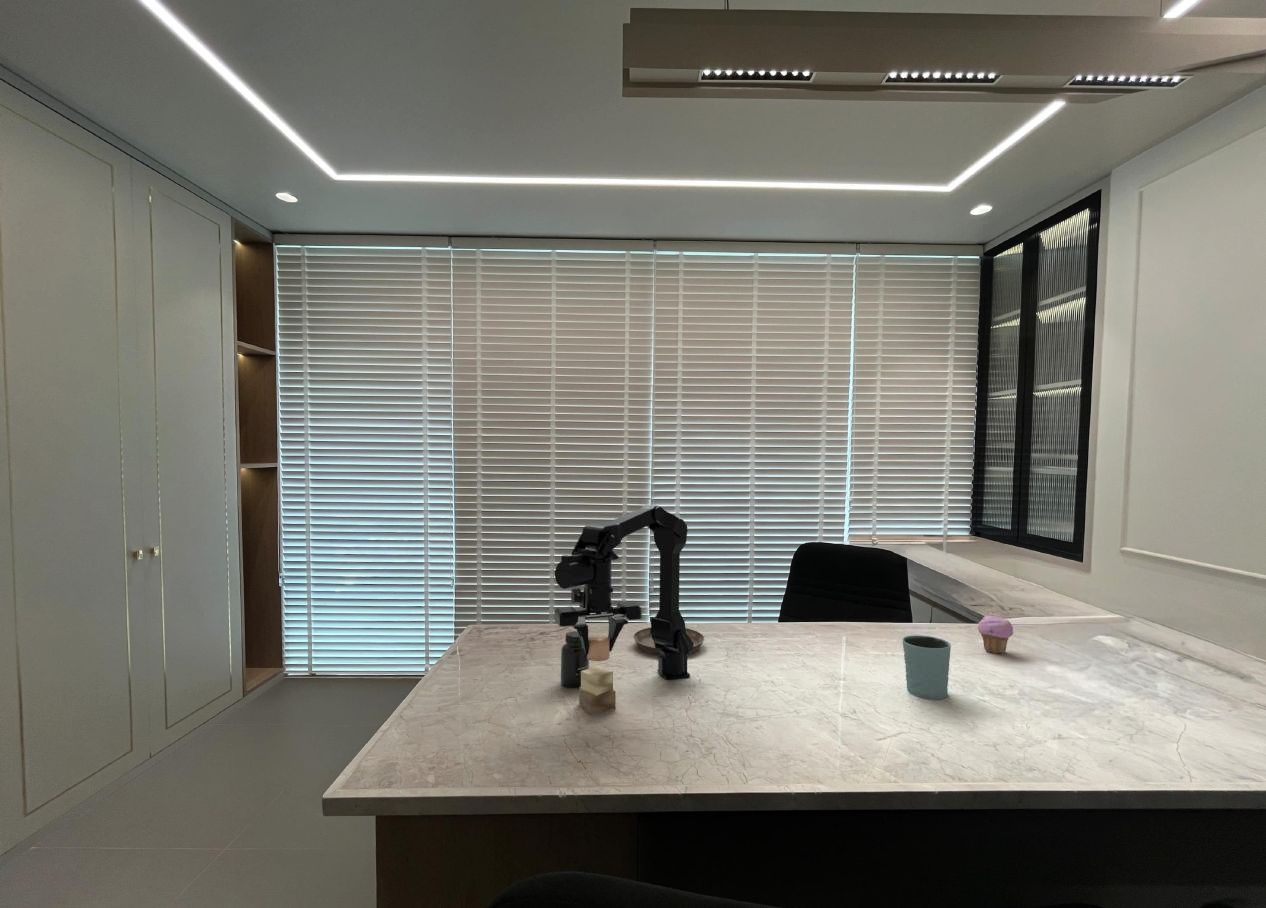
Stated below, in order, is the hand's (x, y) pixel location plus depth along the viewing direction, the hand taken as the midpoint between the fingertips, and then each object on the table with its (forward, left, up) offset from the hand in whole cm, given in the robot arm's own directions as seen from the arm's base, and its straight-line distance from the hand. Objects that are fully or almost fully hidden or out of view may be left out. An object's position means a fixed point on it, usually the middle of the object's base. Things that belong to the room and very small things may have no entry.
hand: (598, 652), depth 130 cm
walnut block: (0, 0, -12) cm, 12 cm away
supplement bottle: (+1, -15, -12) cm, 19 cm away
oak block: (0, 0, -8) cm, 8 cm away
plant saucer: (-32, -33, -12) cm, 48 cm away
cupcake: (-118, +3, -12) cm, 118 cm away
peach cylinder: (0, 0, -1) cm, 1 cm away
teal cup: (-75, +19, -12) cm, 78 cm away
